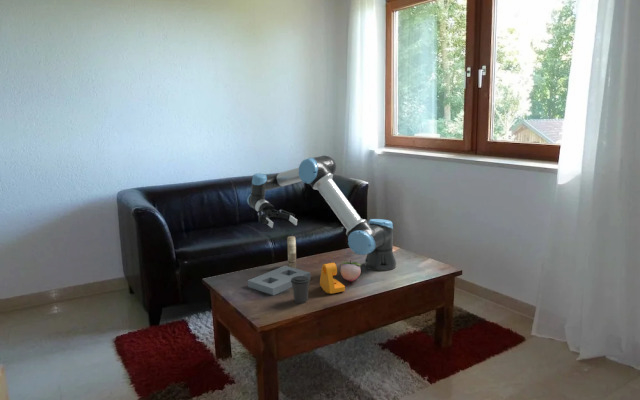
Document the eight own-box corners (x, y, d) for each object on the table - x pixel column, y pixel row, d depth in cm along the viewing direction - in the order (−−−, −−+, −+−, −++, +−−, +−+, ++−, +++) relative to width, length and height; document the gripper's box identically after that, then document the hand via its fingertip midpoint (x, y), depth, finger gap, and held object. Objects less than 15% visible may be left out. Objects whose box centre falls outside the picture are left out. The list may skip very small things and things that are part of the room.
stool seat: (285, 271, 232) (285, 265, 232) (310, 278, 222) (310, 272, 221) (247, 286, 214) (247, 280, 214) (273, 295, 204) (273, 288, 203)
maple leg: (298, 266, 239) (297, 237, 236) (292, 268, 236) (291, 239, 233) (292, 264, 242) (291, 235, 238) (286, 267, 238) (285, 237, 235)
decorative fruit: (340, 285, 214) (340, 263, 212) (340, 278, 222) (340, 257, 220) (361, 285, 213) (361, 263, 211) (360, 278, 221) (360, 257, 219)
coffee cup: (313, 302, 196) (313, 279, 194) (294, 306, 193) (293, 282, 191) (307, 295, 203) (306, 272, 201) (288, 298, 201) (288, 275, 199)
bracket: (345, 292, 206) (345, 265, 203) (330, 295, 203) (329, 268, 200) (334, 284, 215) (334, 258, 213) (319, 286, 212) (319, 260, 210)
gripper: (284, 213, 262) (305, 228, 246) (242, 217, 248) (261, 233, 232) (286, 200, 260) (307, 214, 244) (244, 203, 246) (262, 219, 230)
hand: (284, 223), depth 238 cm, fingers open, 13 cm apart
